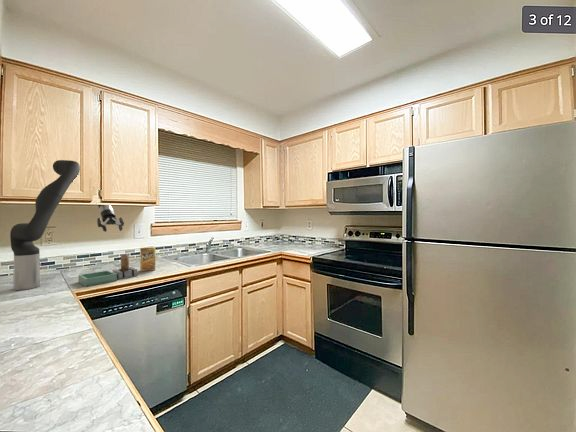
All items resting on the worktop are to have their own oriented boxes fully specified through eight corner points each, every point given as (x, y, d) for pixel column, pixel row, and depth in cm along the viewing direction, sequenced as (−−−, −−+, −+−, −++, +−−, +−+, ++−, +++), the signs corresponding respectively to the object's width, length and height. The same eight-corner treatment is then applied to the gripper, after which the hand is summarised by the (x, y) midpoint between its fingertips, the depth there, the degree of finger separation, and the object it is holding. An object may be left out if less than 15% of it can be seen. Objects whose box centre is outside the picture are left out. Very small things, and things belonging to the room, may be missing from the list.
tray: (86, 286, 131) (85, 279, 131) (78, 282, 140) (78, 274, 140) (116, 280, 143) (116, 273, 142) (108, 276, 151) (107, 270, 151)
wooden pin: (122, 277, 150) (122, 255, 150) (120, 276, 153) (119, 255, 152) (130, 276, 153) (129, 254, 153) (127, 275, 156) (127, 254, 156)
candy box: (140, 271, 165) (140, 248, 165) (140, 270, 169) (140, 247, 169) (155, 270, 169) (155, 247, 169) (155, 268, 173) (155, 246, 173)
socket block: (118, 279, 146) (118, 272, 146) (112, 276, 152) (112, 269, 152) (137, 275, 154) (137, 269, 154) (130, 273, 160) (130, 267, 160)
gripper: (95, 208, 163) (101, 227, 156) (120, 208, 174) (127, 226, 168) (93, 216, 166) (99, 235, 160) (117, 216, 178) (124, 233, 171)
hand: (113, 230), depth 164 cm, fingers open, 8 cm apart
